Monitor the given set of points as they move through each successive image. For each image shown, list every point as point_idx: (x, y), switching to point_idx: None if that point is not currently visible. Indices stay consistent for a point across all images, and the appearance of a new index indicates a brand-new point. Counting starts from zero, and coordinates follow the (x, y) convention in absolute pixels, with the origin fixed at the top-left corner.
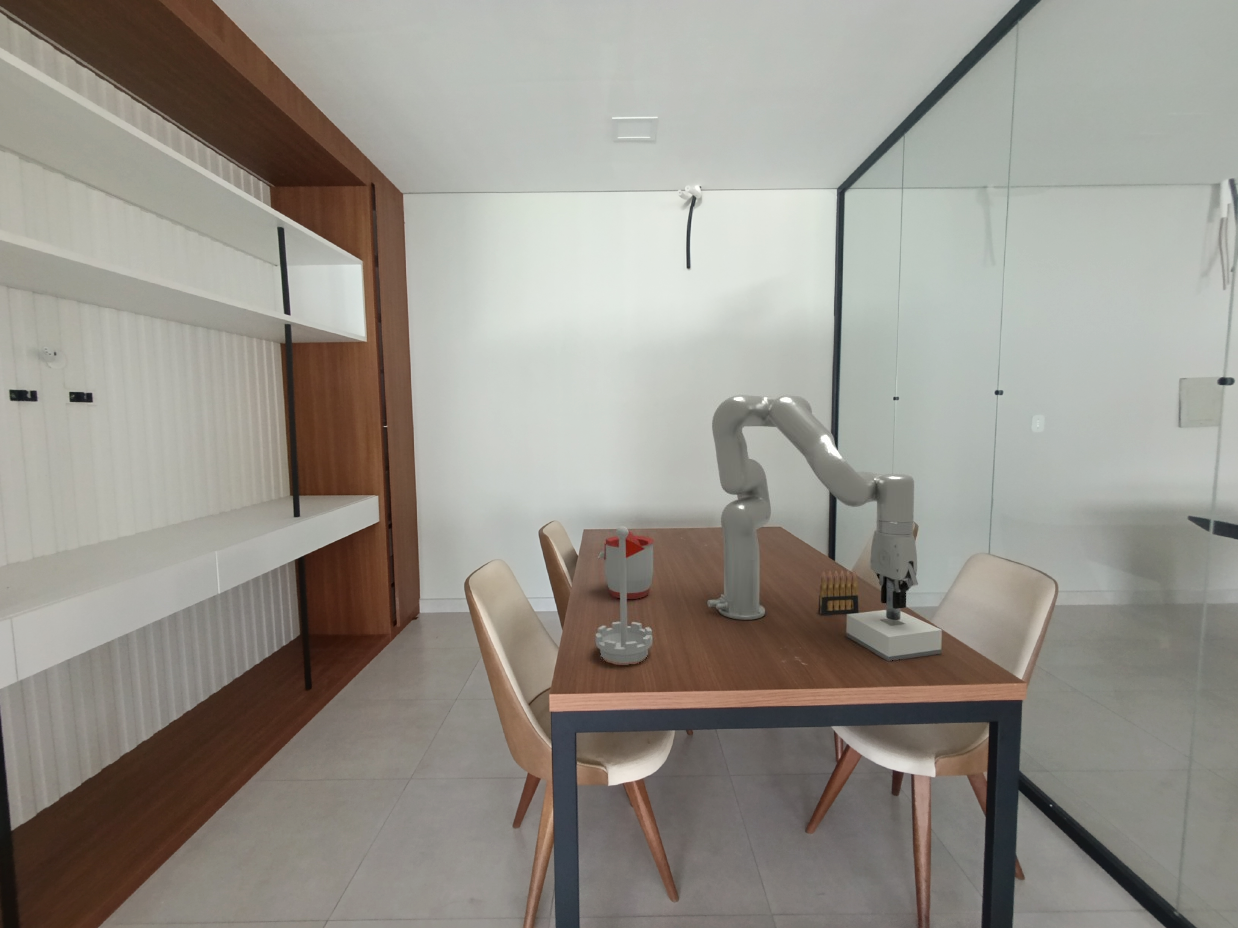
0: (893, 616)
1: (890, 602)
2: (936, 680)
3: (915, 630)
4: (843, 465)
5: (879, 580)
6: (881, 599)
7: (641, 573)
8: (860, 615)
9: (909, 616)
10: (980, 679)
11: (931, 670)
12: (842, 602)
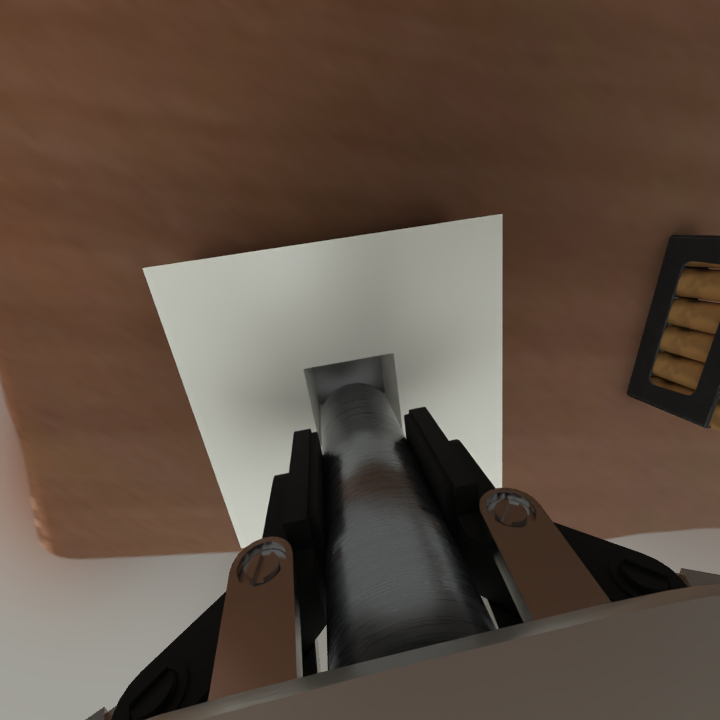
0: (325, 409)
1: (344, 441)
2: (29, 348)
3: (236, 446)
4: None
5: (550, 525)
6: (424, 415)
7: None
8: (468, 287)
9: None
10: (62, 486)
11: (118, 378)
12: (697, 345)
